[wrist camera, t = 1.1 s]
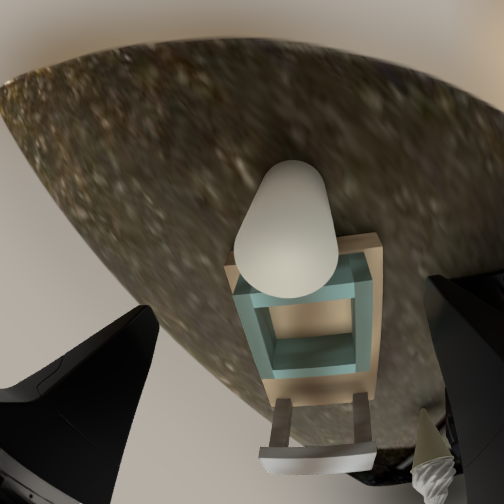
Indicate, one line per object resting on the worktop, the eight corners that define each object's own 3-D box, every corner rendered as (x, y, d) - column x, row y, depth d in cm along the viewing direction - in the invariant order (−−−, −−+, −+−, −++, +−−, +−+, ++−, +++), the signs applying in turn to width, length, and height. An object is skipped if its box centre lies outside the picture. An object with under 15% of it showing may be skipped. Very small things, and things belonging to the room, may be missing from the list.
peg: (319, 155, 17) (331, 198, 10) (329, 216, 19) (341, 292, 12) (254, 166, 18) (221, 215, 11) (268, 225, 20) (247, 302, 13)
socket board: (375, 232, 19) (417, 334, 10) (371, 383, 26) (379, 468, 18) (230, 251, 21) (185, 352, 13) (273, 391, 28) (260, 473, 20)
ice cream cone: (414, 422, 29) (425, 525, 16) (395, 412, 28) (404, 527, 15) (447, 404, 27) (466, 510, 14) (431, 392, 26) (451, 512, 13)
